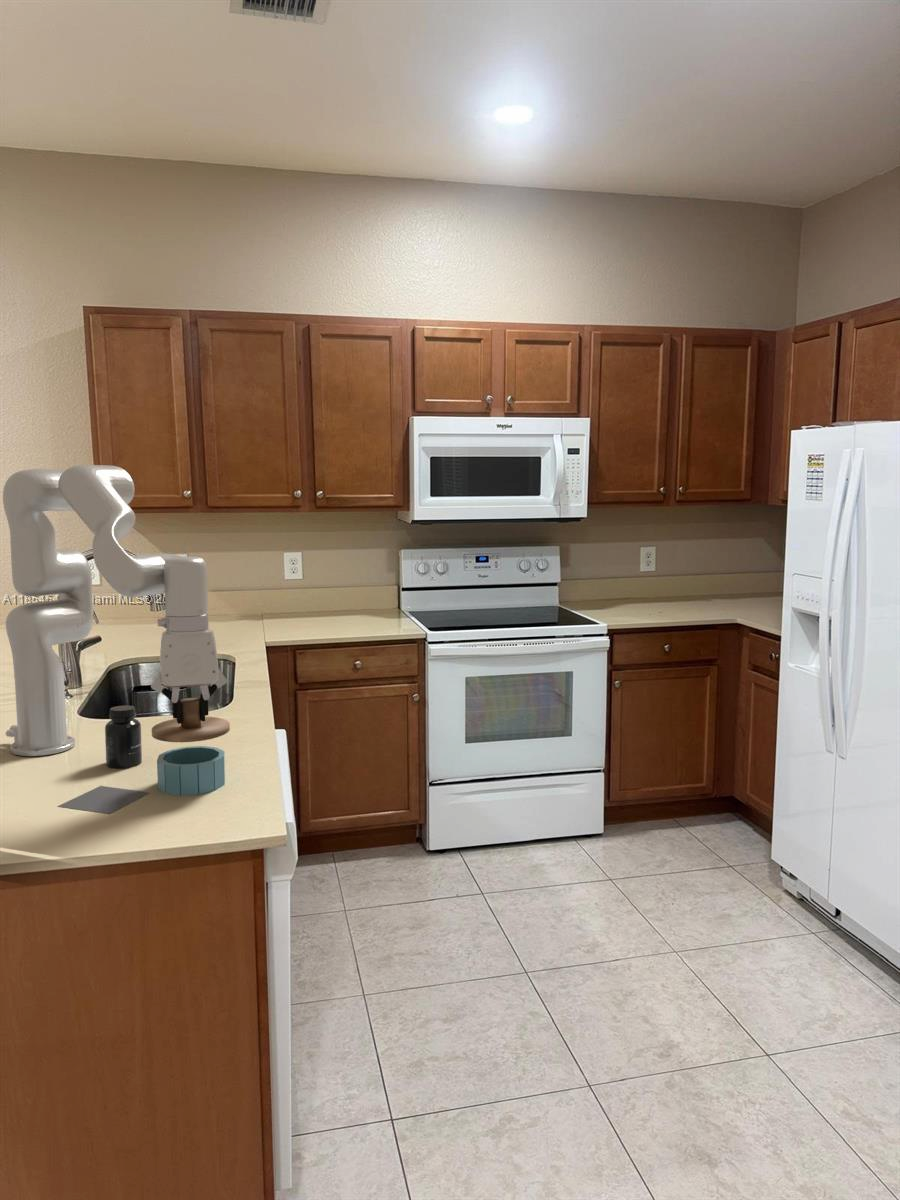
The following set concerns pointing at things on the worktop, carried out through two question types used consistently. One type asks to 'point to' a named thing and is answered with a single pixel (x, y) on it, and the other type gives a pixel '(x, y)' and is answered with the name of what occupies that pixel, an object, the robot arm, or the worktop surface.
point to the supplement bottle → (123, 738)
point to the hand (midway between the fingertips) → (190, 719)
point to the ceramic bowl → (191, 770)
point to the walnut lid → (190, 725)
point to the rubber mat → (104, 799)
